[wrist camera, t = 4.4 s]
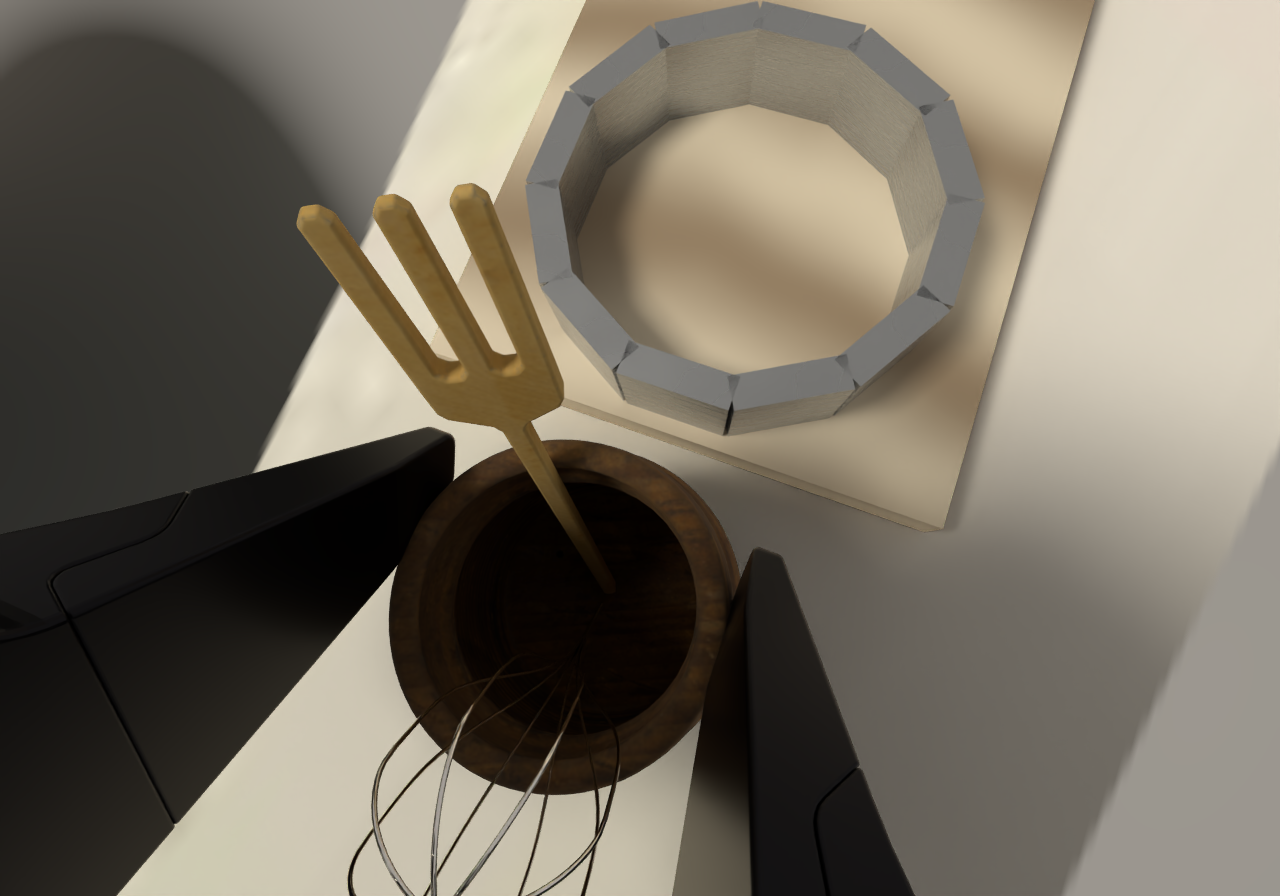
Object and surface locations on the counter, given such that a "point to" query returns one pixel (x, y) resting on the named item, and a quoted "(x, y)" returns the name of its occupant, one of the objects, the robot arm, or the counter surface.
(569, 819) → the counter surface
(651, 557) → the utensil holder
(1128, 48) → the counter surface
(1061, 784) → the counter surface
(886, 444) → the wooden stand with ring
